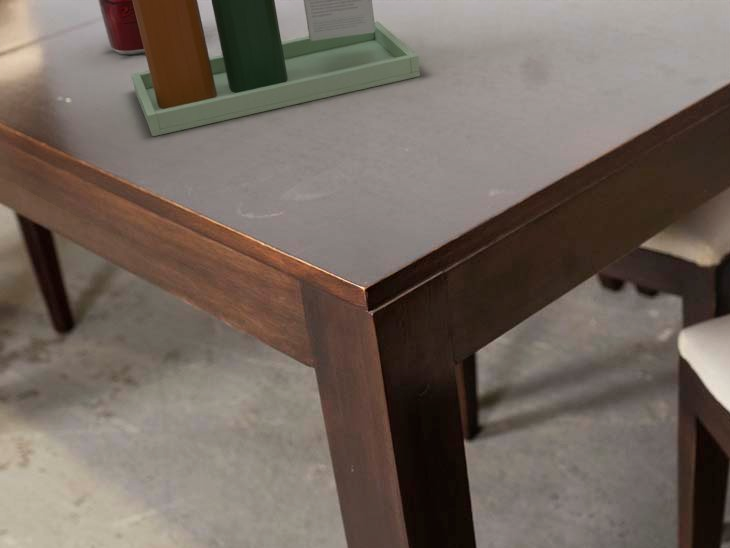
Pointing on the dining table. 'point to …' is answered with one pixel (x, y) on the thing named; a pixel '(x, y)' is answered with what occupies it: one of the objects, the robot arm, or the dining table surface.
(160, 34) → the amber bottle
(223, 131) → the dining table surface
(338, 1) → the small box
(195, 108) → the tray
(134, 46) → the soda can
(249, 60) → the green bottle
